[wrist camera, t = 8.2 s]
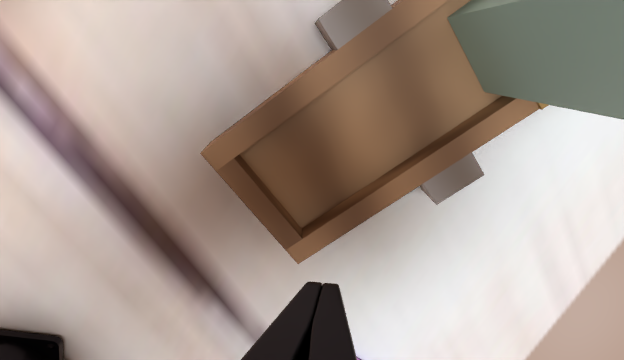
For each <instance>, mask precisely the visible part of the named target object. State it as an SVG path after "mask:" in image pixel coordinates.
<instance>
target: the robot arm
mask: <svg viewBox="0 0 624 360" xmlns="http://www.w3.org/2000/svg"><path fill="white" fill-rule="evenodd" d="M0 360H63V342H62V340H61V339H60V338H59V337H56V336H49V335H40V334H32V333H23V332H15V331H6V330H0ZM241 360H357V358H356V354H355V349H354V345H353V341H352V337H351V333H350V329H349V325H348V321H347V317H346V313H345V308H344V304H343V300H342V296H341V292H340V288H339V285H338V284H331V283H324V284H322V283H320V282H307V283H306V284H305V285H304V286H303V287H302V289H301V290H300V291H299V292H298V293H297V294H296V296H295V297H294V298H293V299H292V300H291V301H290V303H289V304H288V305H287V306H286V307H285V309H284V310H283V311H282V312H281V313H280V314H279V316H278V317H277V318H276V319H275V320H274V321H273V323H272V324H271V325H270V326H269V327H268V329H267V330H266V331H265V332H264V333H263V334H262V336H261V337H260V338H259V339H258V340H257V341H256V343H255V344H254V345H253V346H252V347H251V348H250V350H249V351H248V352H247V353H246V354H245V356H244V357H243V358H242V359H241Z"/></svg>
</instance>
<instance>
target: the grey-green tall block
mask: <svg viewBox="0 0 624 360" xmlns="http://www.w3.org/2000/svg"><path fill="white" fill-rule="evenodd" d="M447 19H448V21H449V23H450V25H451V27H452V29H453V31H454V33H455V35H456V37H457V39H458V41H459V42H460V44H461V46H462V48H463V50H464V52H465V54H466V56H467V58H468V60H469V62H470V64H471V66H472V68H473V70H474V72H475V74H476V76H477V78H478V80H479V82H480V84H481V86H482V88H483V90H484V92H487V93H492V94H497V95H502V96H507V97H512V98H517V99H522V100H527V101H533V102H538V103H543V104H548V105H553V106H558V107H563V108H568V109H573V110H578V111H583V112H588V113H593V114H598V115H603V116H608V117H613V118H619V119H624V0H471V1H469V2H468V3H467V4H465V5H464V6H462V7H461V8H460V9H458V10H457V11H456V12H454V13H453V14H451V15H450V16H449V17H447Z"/></svg>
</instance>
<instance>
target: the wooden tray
mask: <svg viewBox="0 0 624 360" xmlns="http://www.w3.org/2000/svg"><path fill="white" fill-rule="evenodd" d="M469 1H471V0H398V1H397V2H395V3H394V4H393V5H390V3H389V2H388V0H342V1H340V2H339V3H338V4H337V5H335V6H334V7H333V8H332V9H330V10H329V11H328V12H326V13H325V14H324V15H323V16H321V17H320V18H319V19H318V20H317V21H316V23H315V24H316V26H317V27H318V29H319V30H320V32H321V34H322V35H323V37H324V38H325V40H326V41H327V43H328V44H329V46H330V48H331V49H332V51H330V52H329V53H328V54H326V55H325V56H324V57H323V58H321V59H320V60H319V61H317V62H316V63H315V64H313V65H312V66H311V67H309V68H308V69H307V70H305V71H304V72H303V73H301V74H300V75H299V76H297V77H296V78H295V79H293V80H292V81H291V82H289V83H288V84H287V85H285V86H284V87H283V88H282V89H280V90H279V91H278V92H276V93H275V94H274V95H272V96H271V97H270V98H268V99H267V100H266V101H264V102H263V103H262V104H260V105H259V106H258V107H256V108H255V109H254V110H252V111H251V112H250V113H248V114H247V115H246V116H244V117H243V118H242V119H241V120H239V121H238V122H237V123H235V124H234V125H233V126H231V127H230V128H229V129H227V130H226V131H225V132H223V133H222V134H221V135H219V136H218V137H217V138H215V139H214V140H213V141H211V142H210V143H209V145H208V146H207V147H206V148H205V149H204V150H203V151H202V152H201V153H200V154H201V155H202V156H203V157H204V158H205V159H206V160H207V162H208V163H209V164H210V165H211V166H212V167H213V168H214V170H215V171H216V172H217V173H218V174H219V175H220V176H221V177H222V179H223V180H224V181H225V182H226V183H227V184H228V185H229V187H230V188H231V189H232V190H233V191H234V192H235V193H236V194H237V196H238V197H239V198H240V199H241V200H242V201H243V202H244V203H245V205H246V206H247V207H248V208H249V209H250V210H251V211H252V213H253V214H254V215H255V216H256V217H257V218H258V219H259V220H260V222H261V223H262V224H263V225H264V226H265V227H266V228H267V230H268V231H269V232H270V233H271V234H272V235H273V236H274V237H275V239H276V240H277V241H278V242H279V243H280V244H281V245H282V247H283V248H284V249H285V250H286V251H287V252H288V253H289V254H290V256H291V257H292V258H293V259H294V260H295V261H296V262H297V264H299V263H300V262H302V261H304V260H305V259H307V258H308V257H310V256H311V255H313V254H314V253H316V252H318V251H319V250H321V249H322V248H324V247H325V246H327V245H328V244H330V243H332V242H333V241H335V240H336V239H338V238H339V237H341V236H342V235H344V234H345V233H347V232H349V231H350V230H352V229H353V228H355V227H356V226H358V225H359V224H361V223H363V222H364V221H366V220H367V219H369V218H370V217H372V216H373V215H375V214H377V213H378V212H380V211H381V210H383V209H384V208H386V207H387V206H389V205H391V204H392V203H394V202H395V201H397V200H398V199H400V198H401V197H403V196H405V195H406V194H408V193H409V192H411V191H412V190H414V189H415V188H417V187H418V186H420V188H421V189H422V190H423V191H424V192H425V193H426V194H427V195H428V196H429V197H430V199H431V200H432V201H433V202H434V203H435V204H436V205H437V204H439V203H440V202H442V201H443V200H445V199H447V198H448V197H450V196H451V195H453V194H455V193H456V192H458V191H459V190H461V189H463V188H464V187H466V186H467V185H469V184H471V183H472V182H474V181H475V180H477V179H479V178H480V177H482V176H483V175H484V173H483V172H482V170H481V168H480V166H479V164H478V163H477V161H476V159H475V157H474V155H473V154H472V152H473V151H474V150H476V149H478V148H479V147H481V146H482V145H484V144H485V143H487V142H488V141H490V140H492V139H493V138H495V137H496V136H498V135H499V134H501V133H502V132H504V131H505V130H507V129H509V128H510V127H512V126H513V125H515V124H516V123H518V122H519V121H521V120H523V119H524V118H526V117H527V116H529V115H530V114H532V113H533V112H535V111H537V110H538V109H543V108H545V107H546V106H548V104H543V103H538V102H533V101H527V100H522V99H517V98H512V97H507V96H502V95H497V94H492V93H487V92H484V90H483V88H482V86H481V84H480V82H479V80H478V78H477V76H476V74H475V72H474V70H473V68H472V66H471V64H470V62H469V60H468V58H467V56H466V54H465V52H464V50H463V48H462V46H461V44H460V42H459V41H458V39H457V37H456V35H455V33H454V31H453V29H452V27H451V25H450V23H449V21H448V19H447V17H449V16H450V15H451V14H453V13H454V12H456V11H457V10H458V9H460V8H461V7H462V6H464V5H465V4H467V3H468V2H469Z"/></svg>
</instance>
